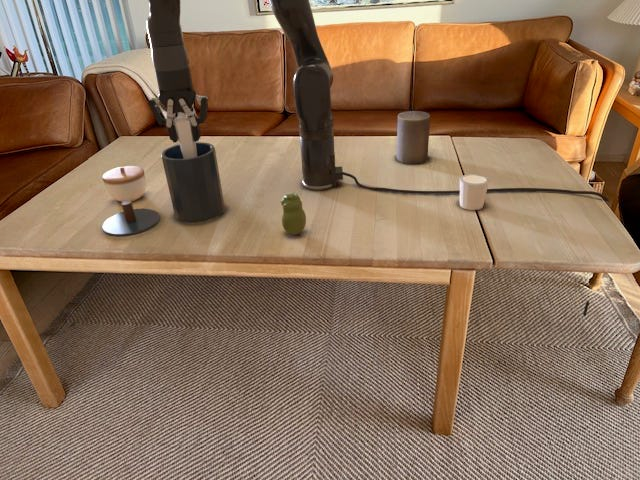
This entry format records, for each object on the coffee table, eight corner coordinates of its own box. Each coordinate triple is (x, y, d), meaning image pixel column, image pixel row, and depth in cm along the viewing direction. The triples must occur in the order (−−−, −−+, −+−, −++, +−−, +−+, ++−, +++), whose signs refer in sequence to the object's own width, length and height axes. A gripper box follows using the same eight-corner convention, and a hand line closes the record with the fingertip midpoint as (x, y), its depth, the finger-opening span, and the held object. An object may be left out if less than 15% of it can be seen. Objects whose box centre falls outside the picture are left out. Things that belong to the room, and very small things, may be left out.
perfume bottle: (179, 171, 117) (166, 110, 109) (189, 165, 120) (177, 105, 113) (194, 173, 115) (182, 111, 108) (205, 167, 119) (194, 106, 111)
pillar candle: (432, 156, 150) (435, 108, 143) (420, 166, 143) (423, 116, 136) (403, 151, 155) (405, 105, 148) (390, 161, 148) (392, 113, 141)
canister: (228, 201, 129) (218, 140, 120) (220, 223, 118) (208, 158, 109) (182, 203, 129) (169, 143, 121) (169, 225, 118) (154, 161, 110)
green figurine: (287, 240, 109) (283, 200, 104) (279, 230, 113) (275, 192, 108) (310, 234, 111) (307, 195, 106) (301, 225, 115) (298, 187, 110)
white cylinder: (470, 213, 116) (473, 187, 112) (451, 203, 121) (453, 177, 118) (491, 206, 118) (495, 180, 115) (472, 196, 124) (475, 171, 120)
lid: (166, 211, 125) (161, 189, 122) (151, 237, 113) (145, 213, 110) (115, 214, 125) (109, 192, 122) (94, 239, 114) (87, 216, 111)
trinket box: (101, 204, 131) (91, 173, 126) (127, 189, 139) (119, 158, 135) (133, 209, 127) (124, 176, 123) (157, 193, 136) (150, 161, 131)
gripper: (134, 71, 102) (152, 147, 111) (200, 67, 102) (213, 144, 111) (145, 64, 109) (161, 137, 117) (207, 61, 109) (218, 134, 117)
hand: (186, 140), depth 114 cm, fingers closed on perfume bottle, 4 cm apart
